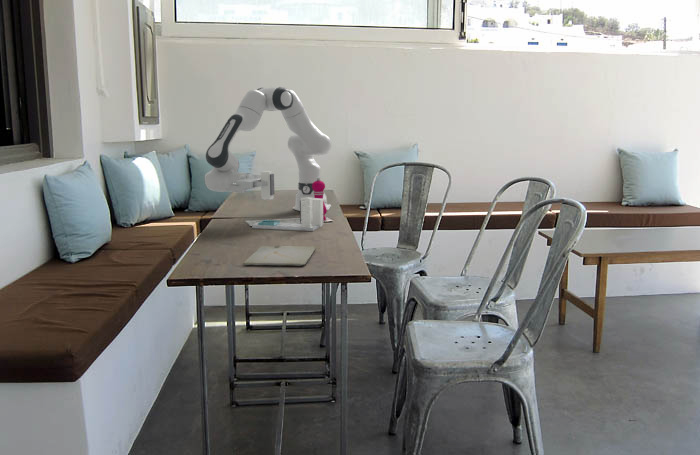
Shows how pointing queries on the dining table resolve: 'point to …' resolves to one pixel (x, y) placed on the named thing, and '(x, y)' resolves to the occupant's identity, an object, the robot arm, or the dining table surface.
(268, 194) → the tall white upright block
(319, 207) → the block
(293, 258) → the decorative slab
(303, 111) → the robot arm
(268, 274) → the dining table surface
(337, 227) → the dining table surface
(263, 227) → the rail
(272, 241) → the dining table surface
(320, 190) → the pepper mill
